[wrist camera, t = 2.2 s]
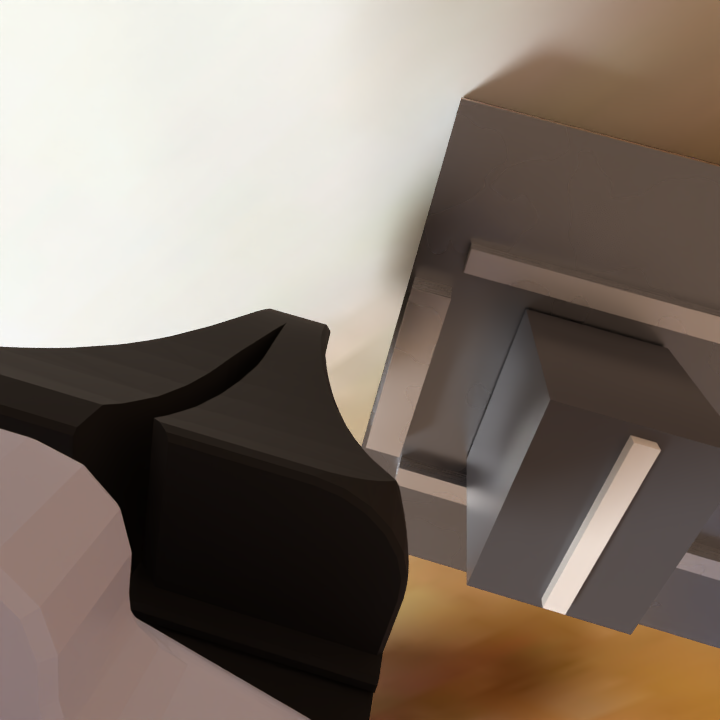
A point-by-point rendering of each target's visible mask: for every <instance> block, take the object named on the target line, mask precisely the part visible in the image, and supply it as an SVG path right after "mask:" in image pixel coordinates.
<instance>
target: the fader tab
mask: <svg viewBox="0 0 720 720" xmlns="http://www.w3.org/2000/svg"><path fill="white" fill-rule="evenodd" d="M719 503H720V416H719V415H718V413H717V412H716V411H715V409H714V408H713V407H712V405H711V404H710V403H709V401H708V400H707V399H706V398H705V396H704V395H703V394H702V392H701V391H700V390H699V388H698V387H697V386H696V384H695V383H694V382H693V381H692V379H691V378H690V377H689V375H688V374H687V373H686V371H685V370H684V369H683V367H682V366H681V365H680V364H679V362H678V361H677V360H676V358H675V357H674V356H673V354H672V353H671V352H670V350H669V349H668V348H665V347H661V346H658V345H654V344H650V343H647V342H643V341H640V340H636V339H633V338H629V337H625V336H622V335H618V334H615V333H611V332H607V331H604V330H600V329H597V328H593V327H590V326H586V325H582V324H579V323H575V322H572V321H568V320H564V319H561V318H557V317H554V316H550V315H547V314H543V313H539V312H536V311H532V310H529V309H526V310H525V313H524V315H523V318H522V320H521V323H520V326H519V328H518V331H517V333H516V336H515V338H514V341H513V343H512V346H511V348H510V351H509V353H508V356H507V358H506V361H505V364H504V366H503V369H502V371H501V374H500V376H499V379H498V381H497V384H496V386H495V389H494V391H493V394H492V397H491V399H490V402H489V404H488V407H487V409H486V412H485V414H484V417H483V419H482V422H481V424H480V427H479V429H478V432H477V435H476V437H475V440H474V442H473V445H472V447H471V450H470V452H469V455H468V457H467V585H468V586H472V587H475V588H478V589H481V590H485V591H488V592H491V593H495V594H498V595H501V596H505V597H508V598H511V599H515V600H518V601H521V602H524V603H528V604H531V605H534V606H538V607H541V608H544V609H548V610H551V611H554V612H557V613H561V614H564V615H567V616H571V617H574V618H577V619H581V620H584V621H587V622H591V623H594V624H597V625H600V626H604V627H607V628H610V629H614V630H617V631H620V632H624V633H627V634H630V635H631V634H632V632H633V631H634V629H635V628H636V626H637V625H638V623H639V622H640V620H641V619H642V617H643V616H644V614H645V613H646V611H647V610H648V608H649V607H650V606H651V604H652V603H653V601H654V600H655V598H656V597H657V595H658V594H659V592H660V591H661V589H662V588H663V586H664V585H665V583H666V582H667V580H668V579H669V577H670V576H671V574H672V573H673V571H674V570H675V568H676V567H677V566H678V564H679V563H680V561H681V560H682V558H683V557H684V555H685V554H686V552H687V551H688V549H689V548H690V546H691V545H692V543H693V542H694V540H695V539H696V537H697V536H698V534H699V533H700V531H701V530H702V529H703V527H704V526H705V524H706V523H707V521H708V520H709V518H710V517H711V515H712V514H713V512H714V511H715V509H716V508H717V506H718V505H719Z"/></svg>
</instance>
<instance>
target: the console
mask: <svg viewBox="0 0 720 720" xmlns="http://www.w3.org/2000/svg"><path fill="white" fill-rule="evenodd" d="M526 309H529V310H532V311H536V312H539V313H543V314H547V315H550V316H554V317H557V318H561V319H564V320H568V321H572V322H575V323H579V324H582V325H586V326H590V327H593V328H597V329H600V330H604V331H607V332H611V333H615V334H618V335H622V336H625V337H629V338H633V339H636V340H640V341H643V342H647V343H650V344H654V345H658V346H661V347H665V348H668V349H669V350H670V352H671V353H672V354H673V356H674V357H675V358H676V360H677V361H678V362H679V364H680V365H681V366H682V367H683V369H684V370H685V371H686V373H687V374H688V375H689V377H690V378H691V379H692V381H693V382H694V383H695V384H696V386H697V387H698V388H699V390H700V391H701V392H702V394H703V395H704V396H705V398H706V399H707V400H708V401H709V403H710V404H711V405H712V407H713V408H714V409H715V411H716V412H717V413H718V415H719V416H720V165H718V164H714V163H710V162H706V161H702V160H699V159H695V158H691V157H687V156H683V155H680V154H676V153H672V152H668V151H664V150H661V149H657V148H653V147H649V146H645V145H642V144H638V143H634V142H630V141H626V140H623V139H619V138H615V137H611V136H607V135H604V134H600V133H596V132H592V131H588V130H585V129H581V128H577V127H573V126H569V125H566V124H562V123H558V122H554V121H550V120H547V119H543V118H539V117H535V116H531V115H528V114H524V113H520V112H516V111H512V110H509V109H505V108H501V107H497V106H493V105H490V104H486V103H482V102H478V101H475V100H471V99H467V98H463V97H462V98H461V101H460V105H459V108H458V112H457V115H456V119H455V122H454V126H453V129H452V133H451V136H450V140H449V143H448V147H447V150H446V154H445V157H444V161H443V164H442V168H441V171H440V175H439V178H438V182H437V185H436V189H435V192H434V196H433V199H432V203H431V206H430V210H429V213H428V217H427V220H426V224H425V227H424V231H423V234H422V237H421V241H420V244H419V248H418V251H417V255H416V258H415V262H414V265H413V269H412V272H411V276H410V279H409V283H408V286H407V290H406V293H405V297H404V300H403V304H402V307H401V311H400V314H399V318H398V321H397V325H396V328H395V332H394V335H393V339H392V342H391V346H390V349H389V353H388V356H387V360H386V363H385V367H384V370H383V374H382V377H381V381H380V384H379V388H378V391H377V395H376V398H375V402H374V405H373V409H372V412H371V416H370V419H369V423H368V426H367V430H366V433H365V437H364V440H363V444H362V448H363V449H364V451H365V452H366V453H367V454H368V455H369V456H370V457H371V458H372V459H373V460H374V461H375V462H376V463H377V464H378V465H380V466H381V467H382V468H383V469H384V470H385V471H386V472H387V473H389V474H390V475H391V476H392V477H393V478H394V479H395V480H396V481H397V483H398V485H399V488H400V492H401V497H402V503H403V508H404V514H405V521H406V529H407V539H408V554H409V555H412V556H415V557H419V558H422V559H425V560H429V561H432V562H435V563H438V564H442V565H445V566H448V567H452V568H455V569H458V570H462V571H465V572H467V457H468V455H469V452H470V450H471V447H472V445H473V442H474V440H475V437H476V435H477V432H478V429H479V427H480V424H481V422H482V419H483V417H484V414H485V412H486V409H487V407H488V404H489V402H490V399H491V397H492V394H493V391H494V389H495V386H496V384H497V381H498V379H499V376H500V374H501V371H502V369H503V366H504V364H505V361H506V358H507V356H508V353H509V351H510V348H511V346H512V343H513V341H514V338H515V336H516V333H517V331H518V328H519V326H520V323H521V320H522V318H523V315H524V313H525V310H526ZM638 624H641V625H644V626H647V627H651V628H654V629H657V630H661V631H664V632H667V633H671V634H674V635H677V636H680V637H684V638H687V639H690V640H694V641H697V642H700V643H704V644H707V645H710V646H714V647H717V648H720V503H719V505H718V506H717V508H716V509H715V511H714V512H713V514H712V515H711V517H710V518H709V520H708V521H707V523H706V524H705V526H704V527H703V529H702V530H701V531H700V533H699V534H698V536H697V537H696V539H695V540H694V542H693V543H692V545H691V546H690V548H689V549H688V551H687V552H686V554H685V555H684V557H683V558H682V560H681V561H680V563H679V564H678V566H677V567H676V568H675V570H674V571H673V573H672V574H671V576H670V577H669V579H668V580H667V582H666V583H665V585H664V586H663V588H662V589H661V591H660V592H659V594H658V595H657V597H656V598H655V600H654V601H653V603H652V604H651V606H650V607H649V608H648V610H647V611H646V613H645V614H644V616H643V617H642V619H641V620H640V622H639V623H638Z"/></svg>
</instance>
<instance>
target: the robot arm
mask: <svg viewBox="0 0 720 720" xmlns="http://www.w3.org/2000/svg"><path fill="white" fill-rule="evenodd" d="M329 336H330V330H329V328H328V326H327V325H325V324H322V323H318V322H315V321H311V320H308V319H304V318H301V317H297V316H294V315H290V314H287V313H283V312H280V311H276V310H273V309H265V310H260V311H257V312H254V313H250V314H247V315H244V316H241V317H238V318H235V319H231V320H228V321H225V322H222V323H219V324H216V325H212V326H209V327H205V328H201V329H197V330H193V331H190V332H186V333H182V334H178V335H174V336H170V337H165V338H160V339H154V340H149V341H142V342H135V343H128V344H120V345H106V346H91V347H76V348H17V347H0V720H369V717H370V711H371V704H372V698H373V693H374V692H375V690H376V687H377V684H378V680H379V675H380V668H381V661H382V654H383V651H384V648H385V645H386V643H387V640H388V638H389V635H390V632H391V630H392V627H393V625H394V622H395V619H396V617H397V614H398V612H399V609H400V606H401V604H402V601H403V599H404V595H405V591H406V586H407V581H408V565H409V559H408V539H407V529H406V521H405V514H404V508H403V503H402V497H401V492H400V488H399V485H398V483H397V481H396V480H395V479H394V478H393V477H392V476H391V475H390V474H389V473H387V472H386V471H385V470H384V469H383V468H382V467H381V466H380V465H378V464H377V463H376V462H375V461H374V460H373V459H372V458H371V457H370V456H369V455H368V454H367V453H366V452H365V451H364V449H363V448H362V447H361V446H360V445H359V444H358V442H357V441H356V440H355V439H354V437H353V435H352V434H351V432H350V431H349V429H348V428H347V426H346V424H345V422H344V420H343V418H342V416H341V414H340V412H339V410H338V407H337V405H336V402H335V400H334V397H333V394H332V390H331V387H330V383H329V378H328V373H327V367H326V358H325V353H326V349H327V344H328V340H329Z"/></svg>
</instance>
